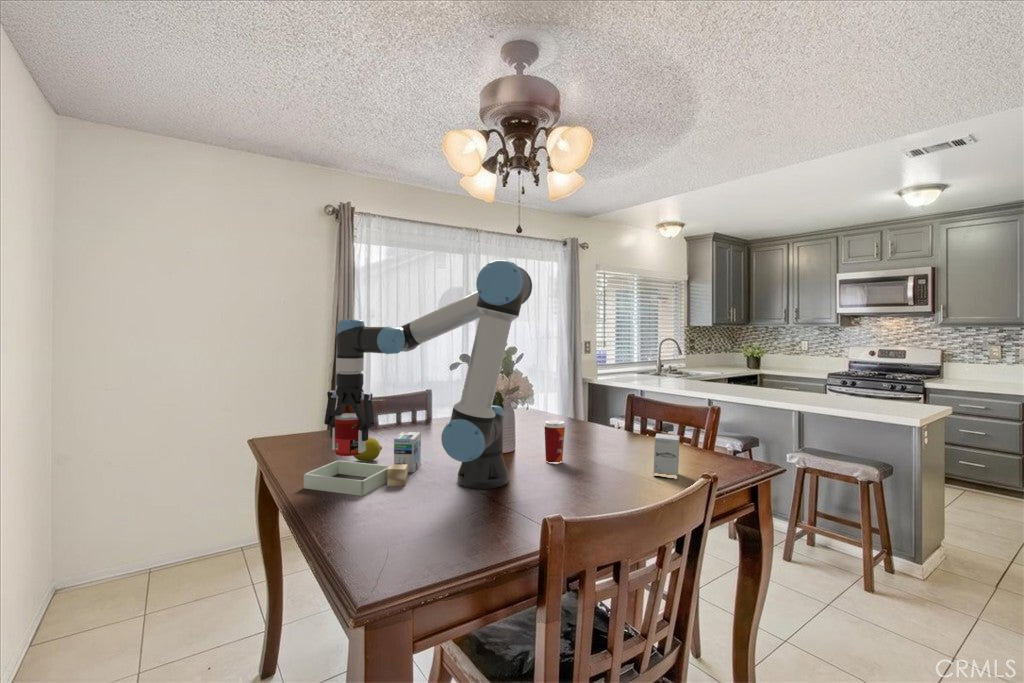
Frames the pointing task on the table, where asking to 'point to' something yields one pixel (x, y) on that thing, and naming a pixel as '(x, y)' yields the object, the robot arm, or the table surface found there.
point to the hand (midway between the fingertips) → (349, 450)
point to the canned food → (346, 434)
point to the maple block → (397, 475)
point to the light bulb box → (408, 450)
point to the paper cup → (554, 440)
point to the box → (326, 482)
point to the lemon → (370, 451)
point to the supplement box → (666, 454)
